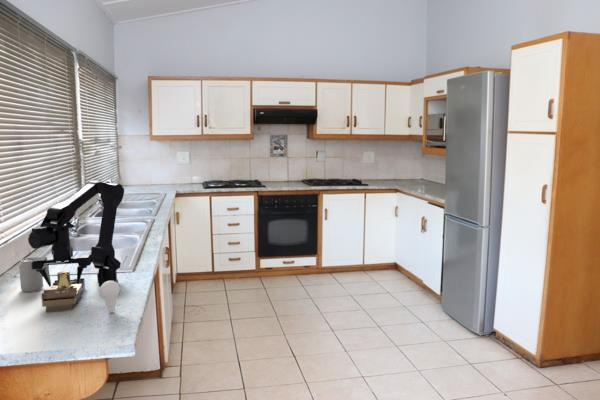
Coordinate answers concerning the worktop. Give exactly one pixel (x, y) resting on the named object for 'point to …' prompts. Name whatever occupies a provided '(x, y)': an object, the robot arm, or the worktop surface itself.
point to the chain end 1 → (61, 298)
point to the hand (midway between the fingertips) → (64, 285)
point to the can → (29, 276)
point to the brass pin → (64, 280)
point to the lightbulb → (110, 294)
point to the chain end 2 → (74, 281)
